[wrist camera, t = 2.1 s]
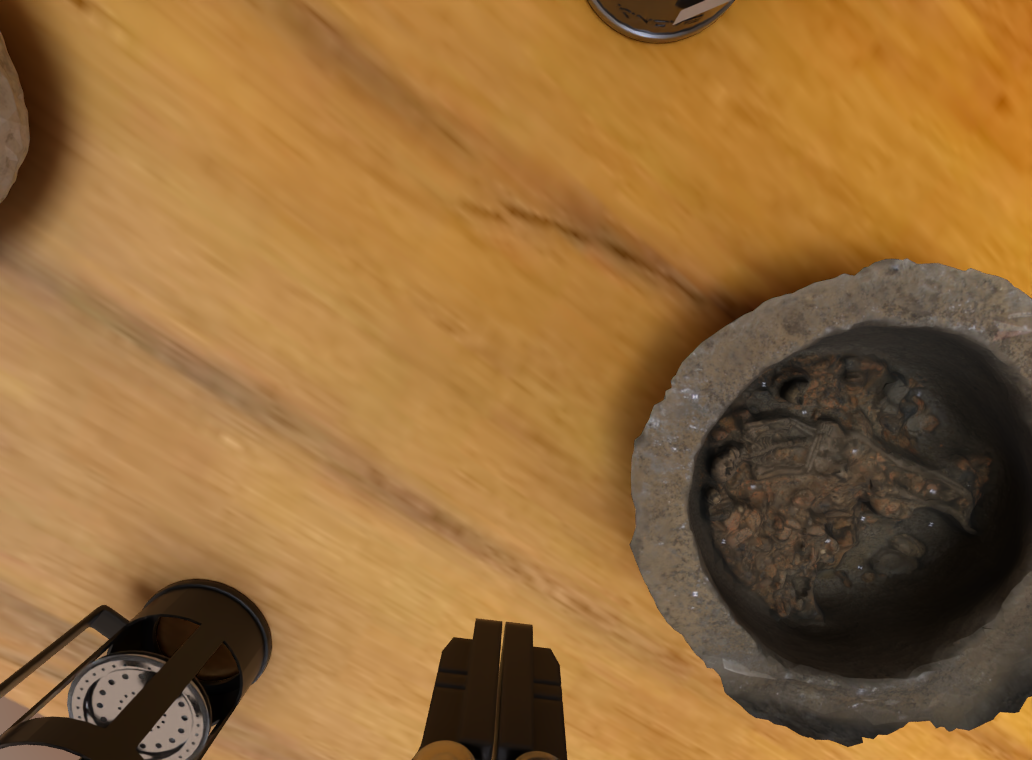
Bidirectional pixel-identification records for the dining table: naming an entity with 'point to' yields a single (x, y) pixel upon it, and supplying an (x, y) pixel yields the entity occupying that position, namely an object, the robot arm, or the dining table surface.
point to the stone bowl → (852, 502)
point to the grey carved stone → (11, 123)
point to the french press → (150, 679)
